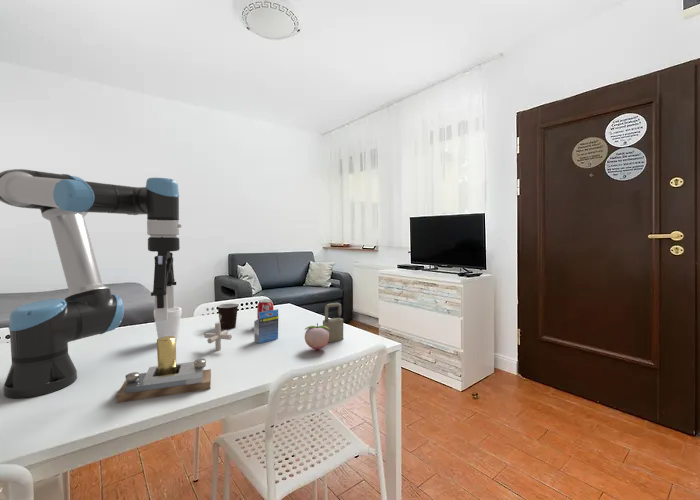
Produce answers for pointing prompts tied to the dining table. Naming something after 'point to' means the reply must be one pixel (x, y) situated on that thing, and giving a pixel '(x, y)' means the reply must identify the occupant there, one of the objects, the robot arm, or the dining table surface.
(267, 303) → the soda can
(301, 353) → the dining table surface
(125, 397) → the walnut board
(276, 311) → the label tape box
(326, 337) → the decorative fruit
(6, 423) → the dining table surface
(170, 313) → the foam cup
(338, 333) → the padlock
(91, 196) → the robot arm
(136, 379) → the grey slotted fixture
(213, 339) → the pipe connector
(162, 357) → the brass pin
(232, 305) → the coffee mug
